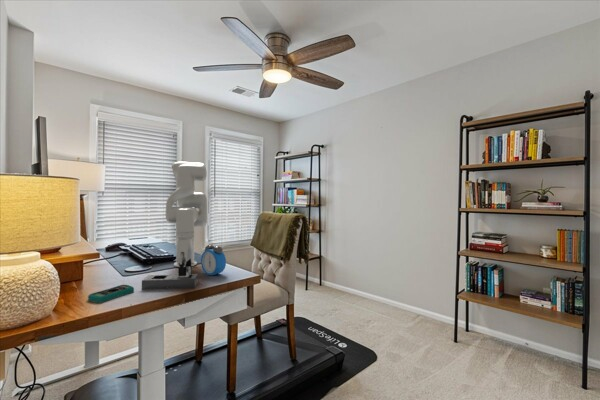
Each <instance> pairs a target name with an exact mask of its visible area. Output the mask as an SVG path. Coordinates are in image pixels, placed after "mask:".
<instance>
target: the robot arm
mask: <svg viewBox="0 0 600 400" xmlns="http://www.w3.org/2000/svg"><path fill="white" fill-rule="evenodd" d="M172 173H173V176H174V178H175V181H176V188H175V190H174V191H173V192H172V193H171V194H170V195H169V196H168V198H167V200H166V204H165V220H166V221H167V223H171V224H175V227H176V229H175V231H176V232H175V235H176V257H175V259H176V260H175V261H176V262H174V263H173V267H175V268H178V269H177V270H178V276H186V267H191V268H192V267H194V266H197V264H198V262H197V260H195V228H199V227H201V228H202V227H205V226H206V225H207V223H208V199H207V198H208V197H207V195H206V193H204V192H196V191H195V182H198V181H199V182H203V181H205V180H206V179H207V167H206V165H205V164H204V163H203V162H191V161H190V162H189V161H177V162H174V163H173V164H172ZM176 202H177V205H178V206H173V205H174V203H176Z"/></svg>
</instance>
